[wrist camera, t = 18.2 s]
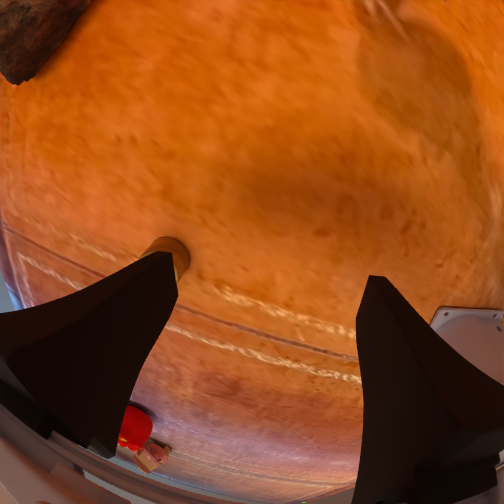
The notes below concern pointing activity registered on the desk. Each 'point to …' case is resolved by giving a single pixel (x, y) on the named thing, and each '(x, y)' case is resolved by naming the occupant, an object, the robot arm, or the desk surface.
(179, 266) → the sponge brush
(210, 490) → the desk surface
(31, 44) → the decorative rock
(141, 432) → the flower
